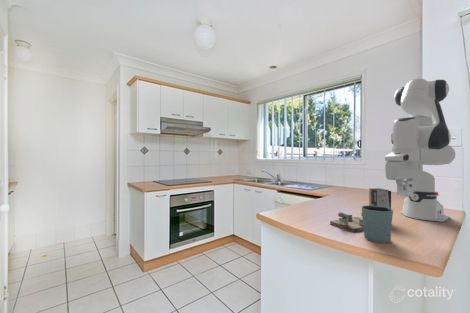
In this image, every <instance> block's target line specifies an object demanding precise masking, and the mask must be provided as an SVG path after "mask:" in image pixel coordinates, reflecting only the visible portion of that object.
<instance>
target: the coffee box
mask: <svg viewBox="0 0 470 313" xmlns="http://www.w3.org/2000/svg"><path fill="white" fill-rule="evenodd" d="M368 205H371V206H382V207H387V208H390V209H392V190H388V189H385V188H378V187H377V188H376V187H375V188H374V187H373V188H371V187H369V188H368Z"/></svg>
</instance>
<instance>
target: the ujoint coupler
mask: <svg viewBox="0 0 470 313" xmlns="http://www.w3.org/2000/svg"><path fill="white" fill-rule="evenodd" d="M403 186H405V188H404V189H405V190H403V191H400V190H398V186H397V185H396V195H397V196H403V197H407V196H413V190H414V181H409V180H407V179H404V182H403Z"/></svg>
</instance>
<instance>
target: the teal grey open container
mask: <svg viewBox="0 0 470 313" xmlns="http://www.w3.org/2000/svg"><path fill="white" fill-rule="evenodd" d="M361 213H362V215H361V217H362V216H363V225H364V230H363V237H364V238H365V239H366V240H367V239H368V241H370V242H374V243H378V244H389V243H390V242H391V239H392V227H393V226H392V223H393V215H394V209H392V208H391V209H390V208H387V207H382V206H371V205H369V204H368V205H362V206H361Z"/></svg>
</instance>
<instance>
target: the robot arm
mask: <svg viewBox="0 0 470 313" xmlns="http://www.w3.org/2000/svg"><path fill="white" fill-rule="evenodd" d="M449 92H450V86H449V83H447V81H446V80H445V79H435V80H430V81H427V80H426V79H424V78H414V79H412V80H410V81H408V82H407V83H406V84H405V86H402V87H399V88H398V89H396V91H395V93H394V101H395V104H396V105H397V106H398V107H399V106H400V107H401V110H402V111H404V113H406V114H409V117H399V118H395V120H394V122H393V125H392V133H391V140H390V141H391V144H392V148H391V152H389V153H387V155H385V156H384V161H385V162H386V163H385V166H384V170H385V178H386V179H387V180H391V181H395V183H396V187H397V186H398V190H400V191H403V190H405V189H404V188H405V186H403V182H404V180H409V181H414V190H413V196H406V197H405V198H404V199H403V206H402V210H400V214H403V216H405V217H409V218H412V219H415V220H422V221H423V220H424V221H433V222H442V223H443V222H445V221H447V220H449V218H450V215H448V214H444V206H443V205H442V203H441V202H440V201H439V200H438V196H439V195H440V194H439V192H438V191H436V190H435V188H436V187H435V186H436V185H435V184H436V181H435V180H436V178H435V177H434V175H433V174H432V173H430V172H428V171H425V170H424V168H423V167H424V166H443V165H450V164H451V163H452V162H453V161H454V160H455V159H456V151H455V149H454V148H453V147H452V146H451V145H450V143H451V140H452V134H451V131H450V129H449V128H448V125H447V123H446V119H445V116H444V112H443V109H442V106H441V104H440V102H442V101H443V100H445V99H446V98H447V96H448V94H449Z"/></svg>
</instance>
